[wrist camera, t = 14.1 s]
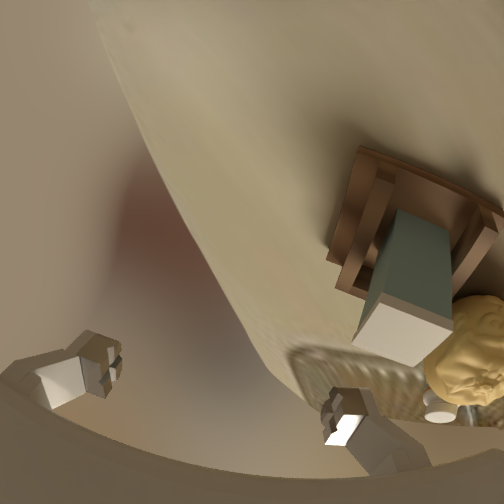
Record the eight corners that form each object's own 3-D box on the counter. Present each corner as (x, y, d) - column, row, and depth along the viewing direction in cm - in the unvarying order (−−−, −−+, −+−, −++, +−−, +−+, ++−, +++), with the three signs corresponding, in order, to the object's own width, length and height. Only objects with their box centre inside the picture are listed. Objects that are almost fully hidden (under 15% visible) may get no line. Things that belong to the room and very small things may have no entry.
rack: (359, 145, 21) (349, 168, 18) (503, 210, 17) (515, 243, 14) (329, 250, 29) (316, 280, 27) (444, 296, 25) (442, 330, 22)
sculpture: (535, 296, 18) (545, 386, 11) (481, 353, 26) (473, 429, 20) (460, 262, 22) (459, 360, 15) (414, 329, 30) (395, 409, 24)
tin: (396, 207, 21) (379, 302, 15) (449, 230, 19) (453, 331, 13) (376, 251, 25) (350, 344, 18) (424, 271, 23) (412, 367, 17)
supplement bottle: (478, 340, 26) (471, 415, 19) (455, 360, 30) (444, 428, 23) (446, 327, 28) (435, 405, 21) (425, 349, 32) (409, 418, 25)
